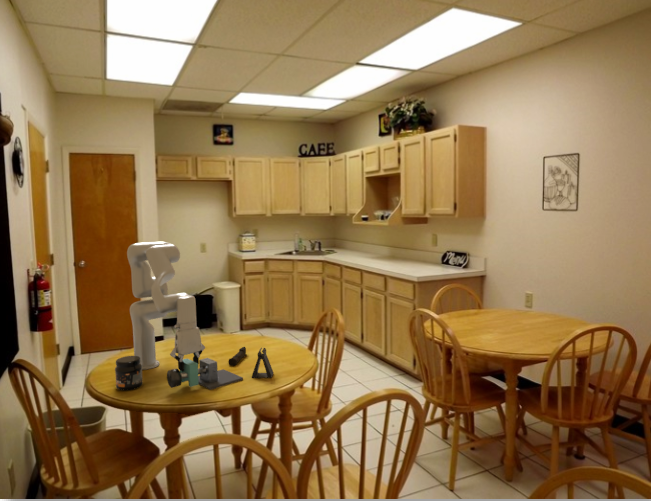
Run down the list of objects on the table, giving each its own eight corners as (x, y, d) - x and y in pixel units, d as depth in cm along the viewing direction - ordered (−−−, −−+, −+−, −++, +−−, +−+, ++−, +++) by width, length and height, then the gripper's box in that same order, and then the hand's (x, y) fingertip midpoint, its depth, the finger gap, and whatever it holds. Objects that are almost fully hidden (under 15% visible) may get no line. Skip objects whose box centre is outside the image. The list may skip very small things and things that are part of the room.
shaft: (167, 385, 192) (166, 368, 191) (208, 373, 205) (208, 358, 204) (175, 389, 187) (174, 372, 186) (217, 377, 200) (216, 361, 199)
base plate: (191, 380, 204) (191, 378, 204) (223, 371, 215) (223, 369, 215) (210, 389, 193) (210, 387, 192) (243, 379, 204) (242, 377, 203)
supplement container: (111, 387, 197) (110, 359, 196) (135, 380, 205) (134, 353, 204) (123, 393, 190) (121, 364, 189) (147, 386, 198) (146, 358, 197)
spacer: (180, 381, 197) (179, 360, 196) (187, 379, 199) (187, 358, 198) (190, 387, 190) (189, 365, 189) (198, 384, 193) (197, 363, 192)
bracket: (199, 379, 202) (199, 359, 202) (208, 376, 205) (207, 357, 205) (209, 383, 197) (208, 364, 196) (217, 381, 199) (217, 361, 199)
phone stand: (251, 378, 205) (250, 351, 204) (253, 373, 211) (253, 347, 210) (271, 378, 205) (271, 351, 204) (273, 373, 211) (273, 347, 210)
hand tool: (236, 366, 222) (235, 357, 222) (228, 366, 223) (227, 356, 222) (250, 354, 240) (250, 346, 240) (243, 354, 241) (243, 345, 241)
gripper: (171, 331, 184) (173, 375, 186) (210, 323, 196) (211, 365, 197) (162, 327, 190) (164, 371, 191) (201, 320, 201) (202, 361, 203)
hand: (188, 368), depth 194 cm, fingers open, 5 cm apart
